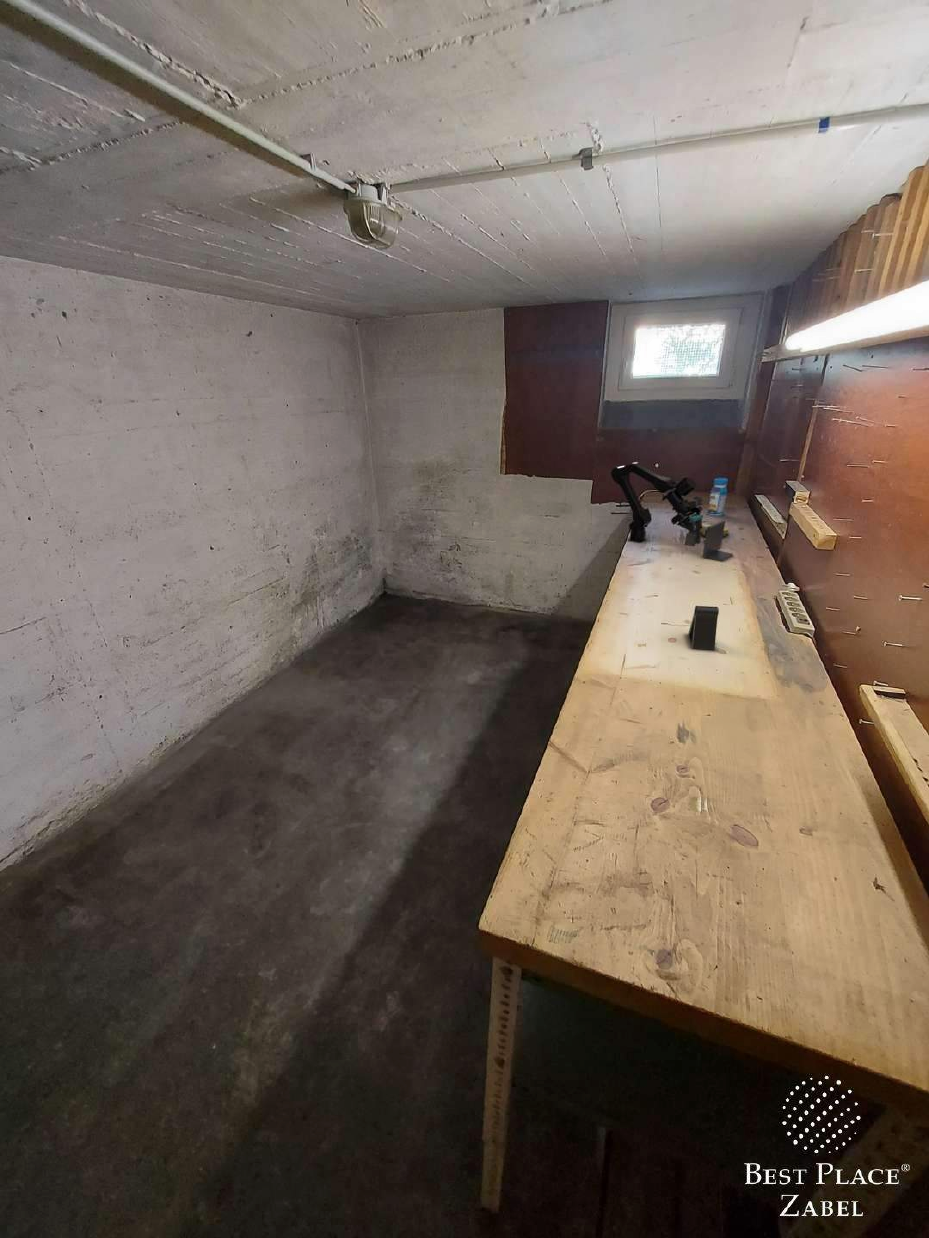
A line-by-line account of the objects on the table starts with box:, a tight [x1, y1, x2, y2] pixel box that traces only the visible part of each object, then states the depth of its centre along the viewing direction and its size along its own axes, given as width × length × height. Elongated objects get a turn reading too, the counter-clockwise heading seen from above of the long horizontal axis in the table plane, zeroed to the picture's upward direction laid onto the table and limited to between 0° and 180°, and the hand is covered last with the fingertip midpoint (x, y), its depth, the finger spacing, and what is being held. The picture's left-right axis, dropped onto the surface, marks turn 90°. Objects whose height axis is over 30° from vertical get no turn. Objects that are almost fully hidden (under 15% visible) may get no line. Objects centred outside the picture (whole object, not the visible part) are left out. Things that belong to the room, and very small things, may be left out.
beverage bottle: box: [707, 477, 729, 517], centre depth 276 cm, size 8×8×20 cm
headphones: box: [684, 514, 704, 548], centre depth 220 cm, size 4×7×13 cm, turn 131°
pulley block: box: [700, 520, 730, 543], centre depth 241 cm, size 14×6×30 cm
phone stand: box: [687, 605, 720, 651], centre depth 145 cm, size 9×6×12 cm, turn 165°
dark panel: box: [702, 520, 734, 562], centre depth 214 cm, size 13×14×14 cm
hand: (697, 530), depth 219 cm, fingers closed on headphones, 7 cm apart
